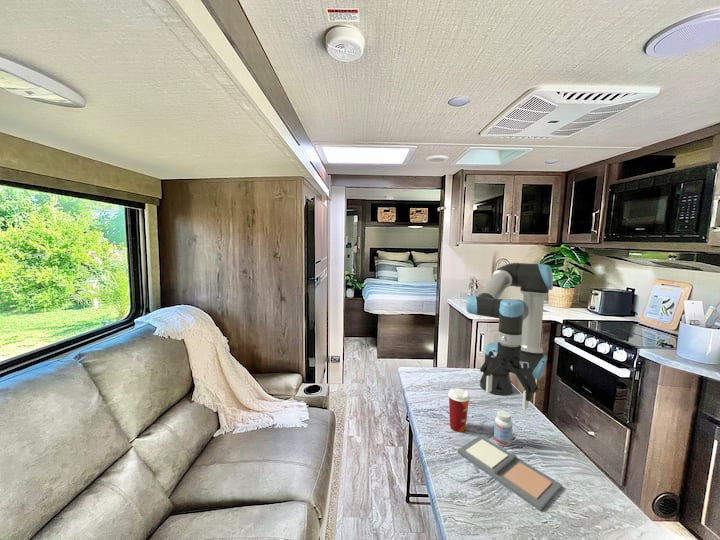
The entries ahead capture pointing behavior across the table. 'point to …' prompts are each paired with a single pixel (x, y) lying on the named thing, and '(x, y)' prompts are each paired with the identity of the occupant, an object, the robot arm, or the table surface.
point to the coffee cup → (458, 409)
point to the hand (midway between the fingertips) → (506, 399)
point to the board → (511, 472)
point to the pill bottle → (503, 428)
